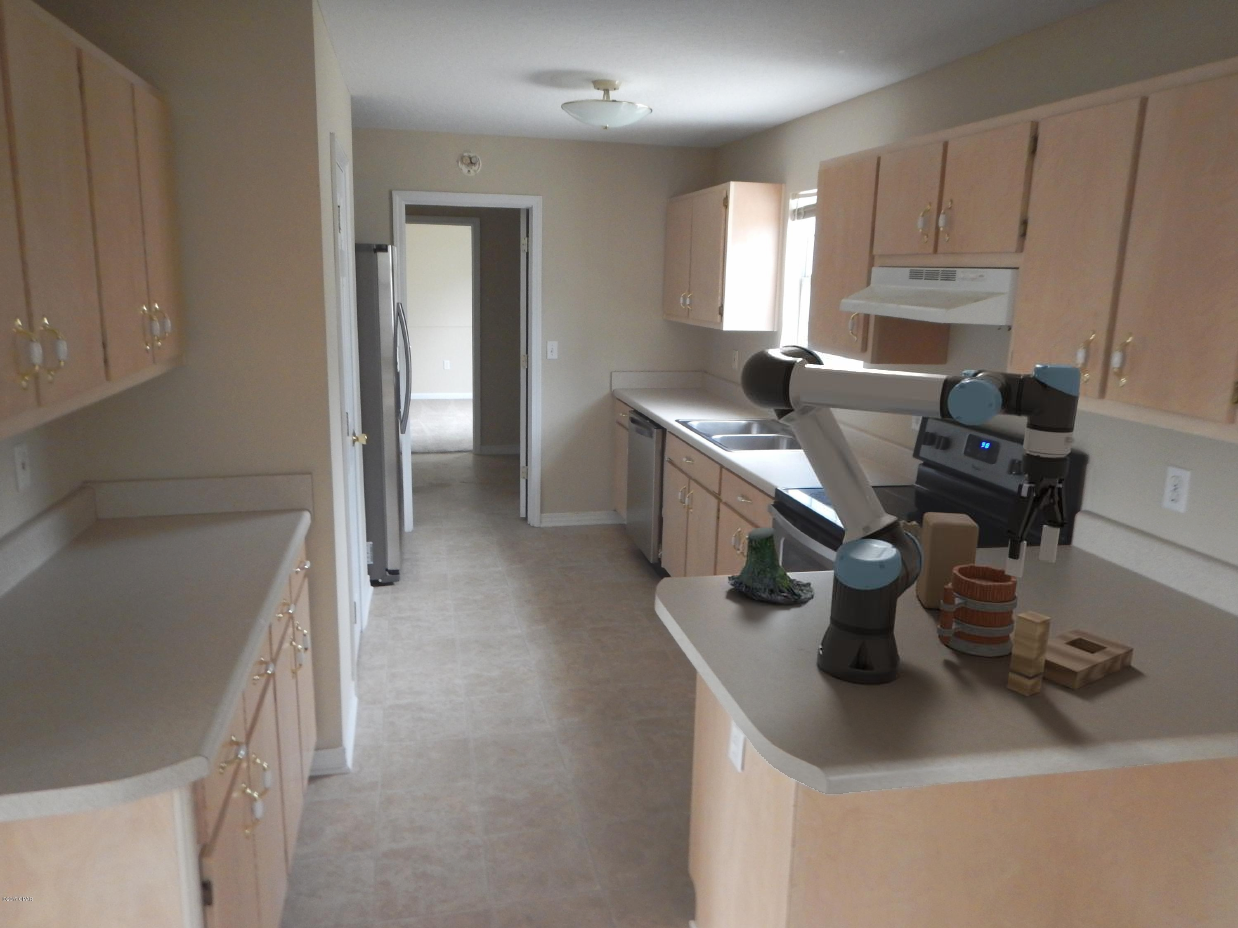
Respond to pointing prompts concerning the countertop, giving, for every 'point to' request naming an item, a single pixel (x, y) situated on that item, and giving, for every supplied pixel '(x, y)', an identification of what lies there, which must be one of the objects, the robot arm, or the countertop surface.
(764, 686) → the countertop surface
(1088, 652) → the board
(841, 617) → the robot arm
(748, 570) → the tree stump
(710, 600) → the countertop surface
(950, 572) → the wooden block
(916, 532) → the rock
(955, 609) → the mug
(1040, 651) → the peg
